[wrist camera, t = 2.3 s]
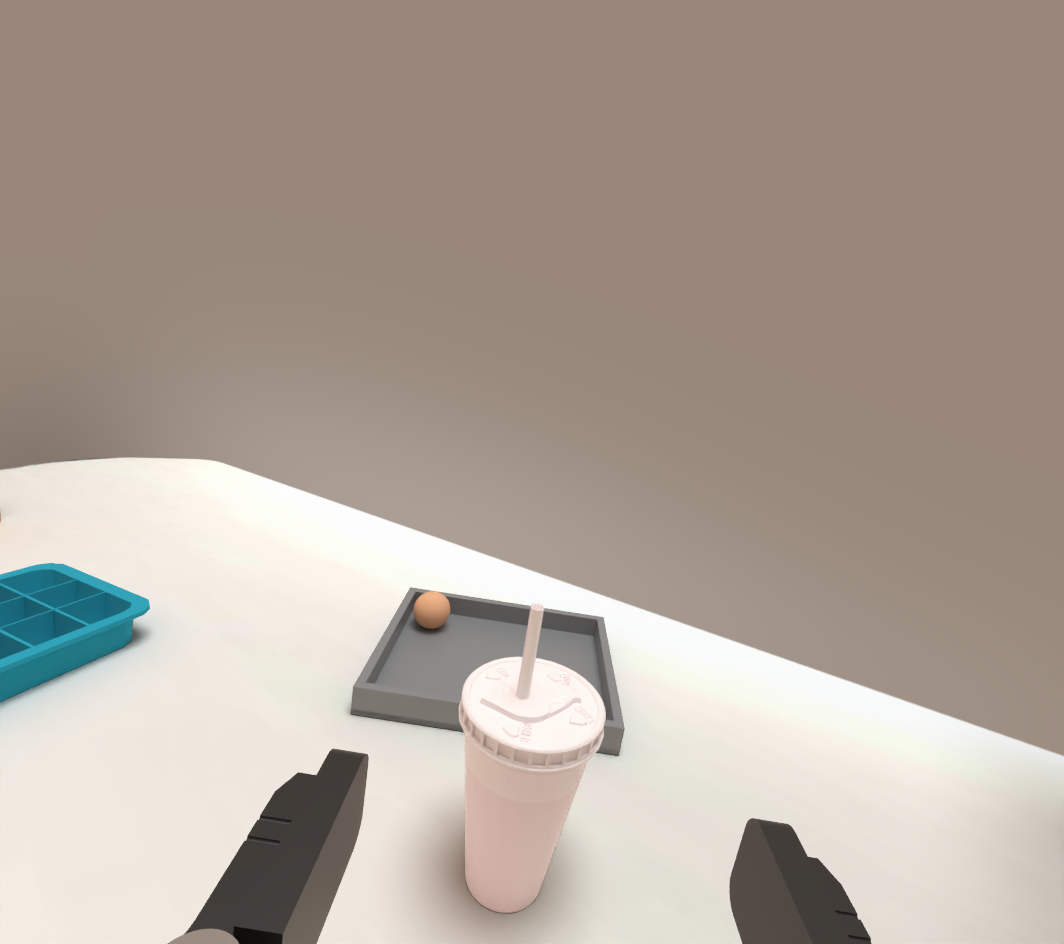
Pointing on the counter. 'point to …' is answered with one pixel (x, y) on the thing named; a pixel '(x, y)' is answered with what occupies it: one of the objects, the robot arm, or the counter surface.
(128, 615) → the ice cube tray
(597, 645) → the tray
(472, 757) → the smoothie
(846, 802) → the counter surface
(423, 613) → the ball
